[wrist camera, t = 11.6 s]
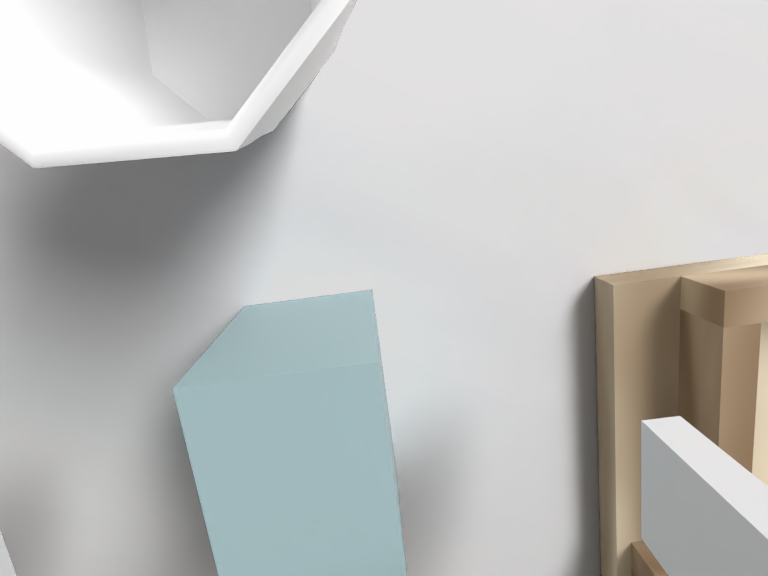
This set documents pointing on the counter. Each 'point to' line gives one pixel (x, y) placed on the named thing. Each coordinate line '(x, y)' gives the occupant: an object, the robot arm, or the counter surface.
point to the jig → (676, 380)
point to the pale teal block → (295, 442)
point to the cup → (154, 74)
